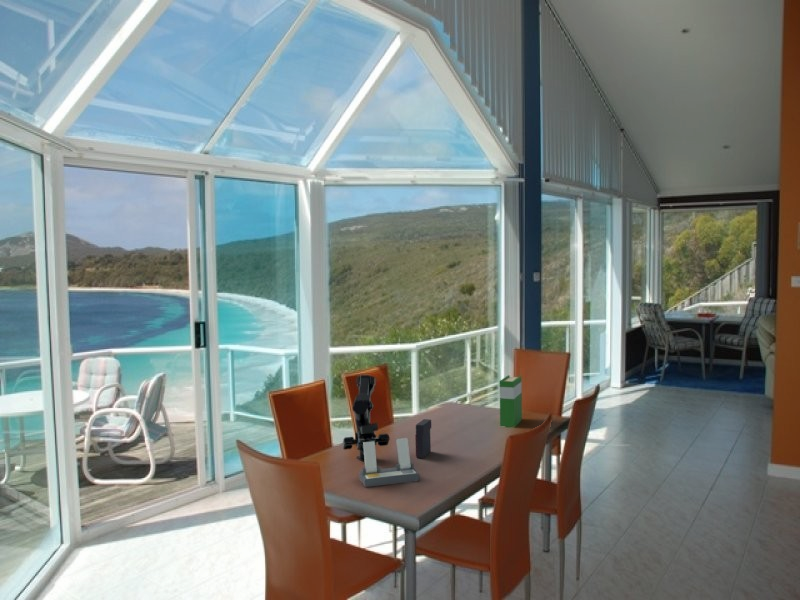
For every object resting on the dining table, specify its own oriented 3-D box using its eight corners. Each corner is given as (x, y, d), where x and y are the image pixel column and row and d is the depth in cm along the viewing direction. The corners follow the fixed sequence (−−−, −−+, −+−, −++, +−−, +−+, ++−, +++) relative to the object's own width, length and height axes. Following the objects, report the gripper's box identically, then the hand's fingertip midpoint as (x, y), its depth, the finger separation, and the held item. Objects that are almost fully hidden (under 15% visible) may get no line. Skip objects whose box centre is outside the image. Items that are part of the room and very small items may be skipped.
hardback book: (508, 418, 347) (507, 375, 345) (521, 419, 344) (521, 376, 342) (500, 426, 330) (499, 381, 329) (514, 427, 327) (513, 381, 326)
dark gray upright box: (423, 450, 291) (422, 418, 290) (432, 451, 289) (431, 419, 288) (414, 457, 280) (414, 424, 280) (424, 458, 279) (423, 425, 278)
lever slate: (399, 469, 255) (395, 439, 259) (409, 468, 256) (406, 438, 260) (400, 469, 253) (397, 438, 257) (411, 468, 255) (407, 437, 258)
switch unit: (359, 478, 255) (359, 465, 254) (411, 472, 260) (411, 459, 260) (364, 487, 245) (364, 473, 245) (419, 480, 251) (418, 467, 250)
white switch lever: (365, 473, 252) (362, 442, 254) (376, 471, 253) (373, 441, 255) (366, 473, 250) (363, 442, 252) (377, 472, 251) (374, 441, 253)
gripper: (343, 418, 254) (348, 453, 245) (388, 414, 259) (395, 448, 250) (340, 431, 263) (345, 466, 253) (384, 427, 267) (390, 461, 258)
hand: (369, 460), depth 253 cm, fingers closed, pressing on white switch lever
